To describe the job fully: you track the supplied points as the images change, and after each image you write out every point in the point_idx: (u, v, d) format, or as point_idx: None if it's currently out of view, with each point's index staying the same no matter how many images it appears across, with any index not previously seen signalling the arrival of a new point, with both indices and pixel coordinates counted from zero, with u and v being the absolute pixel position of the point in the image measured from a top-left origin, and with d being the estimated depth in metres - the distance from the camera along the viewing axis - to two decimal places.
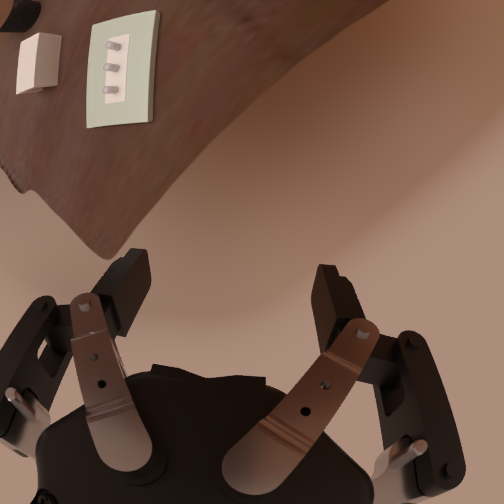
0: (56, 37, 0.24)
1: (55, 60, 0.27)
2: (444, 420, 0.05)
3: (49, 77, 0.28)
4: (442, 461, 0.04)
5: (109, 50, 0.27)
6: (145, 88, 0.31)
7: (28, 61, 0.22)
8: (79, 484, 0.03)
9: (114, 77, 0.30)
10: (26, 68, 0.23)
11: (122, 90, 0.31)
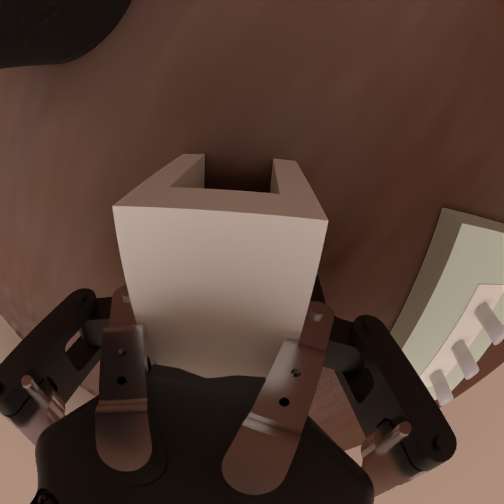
0: None
1: None
2: (421, 398, 0.06)
3: None
4: (430, 437, 0.05)
5: (466, 312, 0.13)
6: None
7: (232, 355, 0.08)
8: (70, 486, 0.03)
9: (444, 357, 0.16)
10: (222, 375, 0.09)
11: (444, 373, 0.17)
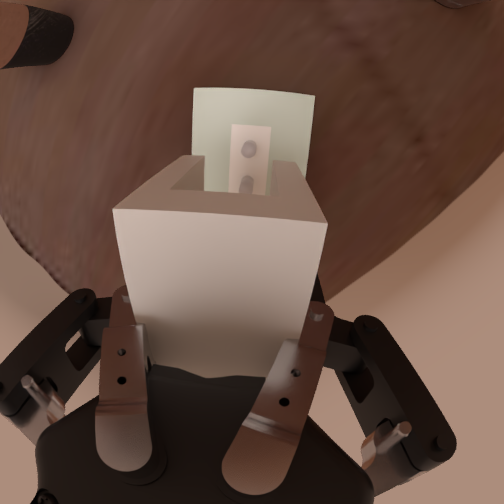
0: None
1: None
2: (420, 398, 0.06)
3: None
4: (430, 437, 0.04)
5: (233, 147, 0.24)
6: None
7: (232, 357, 0.08)
8: (70, 486, 0.03)
9: None
10: (222, 376, 0.09)
11: None
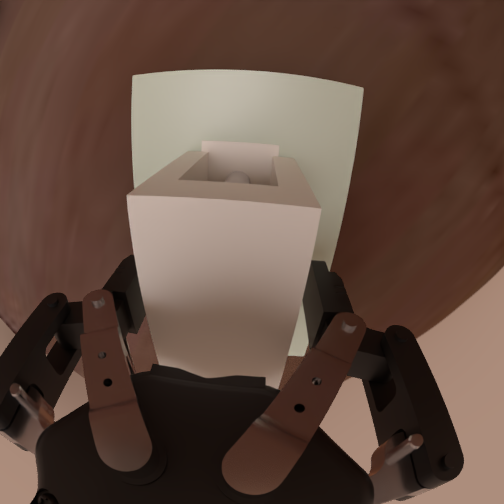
0: None
1: None
2: (438, 413, 0.05)
3: None
4: (439, 453, 0.04)
5: None
6: None
7: (234, 338, 0.09)
8: (76, 485, 0.03)
9: None
10: (224, 359, 0.10)
11: None
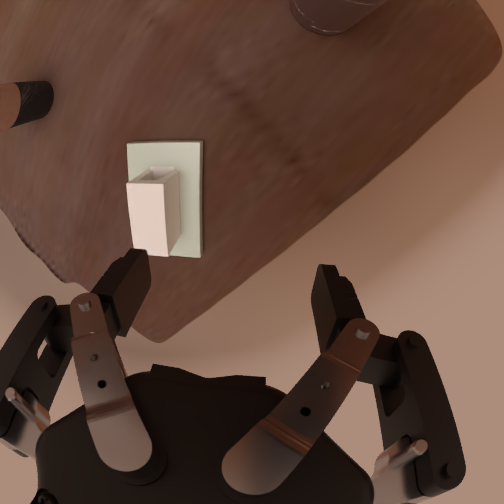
0: (175, 177, 0.35)
1: (177, 207, 0.38)
2: (444, 420, 0.05)
3: (175, 232, 0.38)
4: (442, 461, 0.04)
5: None
6: (196, 228, 0.41)
7: (150, 220, 0.33)
8: (79, 484, 0.03)
9: None
10: (149, 228, 0.33)
11: None
